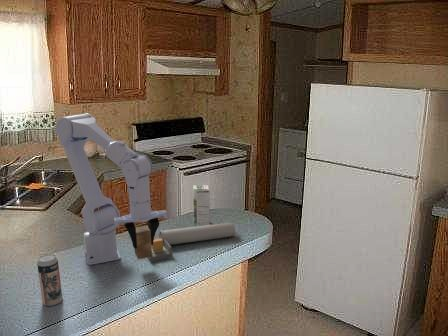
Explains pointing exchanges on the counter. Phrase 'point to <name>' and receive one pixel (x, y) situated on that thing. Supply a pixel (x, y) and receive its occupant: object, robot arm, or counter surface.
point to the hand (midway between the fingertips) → (143, 245)
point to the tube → (198, 233)
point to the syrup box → (201, 205)
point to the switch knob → (157, 244)
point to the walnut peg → (143, 242)
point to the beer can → (49, 280)
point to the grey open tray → (162, 251)
